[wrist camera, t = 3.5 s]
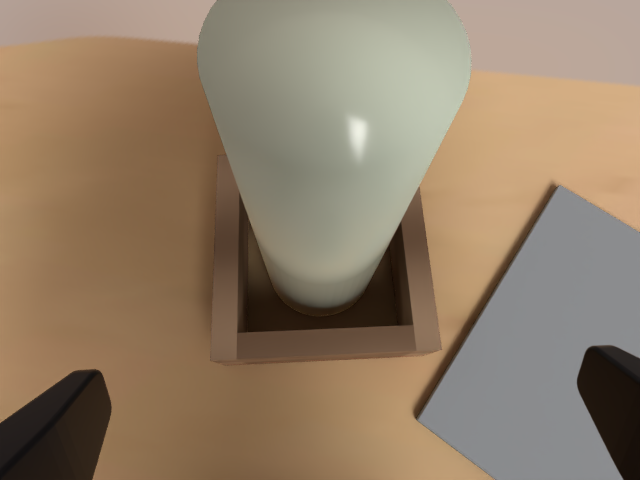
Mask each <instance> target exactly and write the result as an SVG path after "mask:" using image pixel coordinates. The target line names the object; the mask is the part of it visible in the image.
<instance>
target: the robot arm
mask: <svg viewBox="0 0 640 480" xmlns="http://www.w3.org/2000/svg"><path fill="white" fill-rule="evenodd" d="M577 388H578V391H579V394H580V396H581V398H582V400H583V402H584V404H585V406H586V408H587V410H588V412H589V414H590V416H591V418H592V420H593V422H594V424H595V426H596V428H597V430H598V432H599V434H600V436H601V438H602V440H603V442H604V444H605V446H606V448H607V450H608V452H609V454H610V456H611V458H612V460H613V462H614V464H615V466H616V468H617V470H618V472H619V473H620V475H621V477H622V478H623V480H640V358H639V357H636V356H634V355H632V354H630V353H628V352H626V351H624V350H622V349H620V348H618V347H616V346H613V345H594V346H590V347H589V348H588V349H587V350H586V351H585V354H584V357H583V360H582V364H581V367H580V370H579V373H578V376H577ZM111 408H112V407H111V400H110V397H109V394H108V391H107V387H106V384H105V381H104V377H103V375H102V373H101V372H100V371H99V370H96V369H90V370H77V371H74V372H72V373H70V374H69V375H68V376H66V377H65V378H63V379H62V380H61V381H59V382H58V383H56V384H55V385H53V386H52V387H51V388H49V389H48V390H46V391H45V392H44V393H42V394H41V395H39V396H38V397H36V398H35V399H34V400H32V401H31V402H29V403H28V404H27V405H25V406H24V407H22V408H21V409H19V410H18V411H17V412H15V413H14V414H12V415H11V416H10V417H8V418H7V419H5V420H4V421H2V422H1V423H0V480H92V479H93V475H94V472H95V469H96V465H97V462H98V458H99V455H100V451H101V448H102V444H103V441H104V437H105V434H106V430H107V427H108V423H109V420H110V416H111Z"/></svg>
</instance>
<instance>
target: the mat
mask: <svg viewBox="0 0 640 480" xmlns="http://www.w3.org/2000/svg"><path fill="white" fill-rule="evenodd" d="M594 345H613V346H616V347H618V348H620V349H622V350H624V351H626V352H628V353H630V354H632V355H634V356H636V357H639V358H640V232H638V231H636V230H635V229H633V228H631V227H630V226H628V225H626V224H625V223H623V222H621V221H620V220H618V219H616V218H615V217H613V216H611V215H610V214H608V213H606V212H605V211H603V210H601V209H600V208H598V207H596V206H594V205H593V204H591V203H589V202H588V201H586V200H584V199H583V198H581V197H579V196H578V195H576V194H574V193H573V192H571V191H569V190H568V189H566V188H564V187H563V186H561V185H559V186H558V187H557V188H556V189H555V190H554V192H553V194H552V195H551V197H550V199H549V200H548V202H547V204H546V205H545V207H544V209H543V210H542V212H541V214H540V215H539V217H538V218H537V220H536V222H535V223H534V225H533V227H532V228H531V230H530V232H529V233H528V235H527V237H526V238H525V240H524V242H523V243H522V245H521V247H520V248H519V250H518V252H517V253H516V255H515V256H514V258H513V260H512V261H511V263H510V265H509V266H508V268H507V270H506V271H505V273H504V275H503V276H502V278H501V280H500V281H499V283H498V285H497V286H496V288H495V290H494V291H493V293H492V294H491V296H490V298H489V299H488V301H487V303H486V304H485V306H484V308H483V309H482V311H481V313H480V314H479V316H478V318H477V319H476V321H475V323H474V324H473V326H472V328H471V329H470V331H469V332H468V334H467V336H466V337H465V339H464V341H463V342H462V344H461V346H460V347H459V349H458V351H457V352H456V354H455V356H454V357H453V359H452V361H451V362H450V364H449V366H448V367H447V369H446V371H445V372H444V374H443V375H442V377H441V379H440V380H439V382H438V384H437V385H436V387H435V389H434V390H433V392H432V394H431V395H430V397H429V399H428V400H427V402H426V404H425V405H424V407H423V409H422V410H421V412H420V413H419V415H418V417H417V418H416V420H417V421H418V422H420V423H421V424H422V425H424V426H425V427H426V428H428V429H429V430H430V431H431V432H433V433H434V434H435V435H437V436H438V437H439V438H441V439H442V440H443V441H445V442H446V443H447V444H449V445H450V446H451V447H453V448H454V449H455V450H457V451H458V452H459V453H461V454H462V455H463V456H465V457H466V458H467V459H469V460H470V461H471V462H473V463H474V464H475V465H477V466H478V467H479V468H480V469H482V470H483V471H484V472H486V473H487V474H488V475H490V476H491V477H492V478H494V479H495V480H623V478H622V477H621V475H620V473H619V472H618V470H617V468H616V466H615V464H614V462H613V460H612V458H611V456H610V454H609V452H608V450H607V448H606V446H605V444H604V442H603V440H602V438H601V436H600V434H599V432H598V430H597V428H596V426H595V424H594V422H593V420H592V418H591V416H590V414H589V412H588V410H587V408H586V406H585V404H584V402H583V400H582V398H581V396H580V394H579V391H578V388H577V376H578V373H579V370H580V367H581V364H582V360H583V357H584V354H585V351H586V350H587V349H588V348H589V347H590V346H594Z"/></svg>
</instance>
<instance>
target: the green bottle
mask: <svg viewBox="0 0 640 480" xmlns="http://www.w3.org/2000/svg"><path fill="white" fill-rule="evenodd" d="M471 62H472V60H471V51H470V44H469V41H468V37H467V33H466V31H465V29H464V26H463V24H462V22H461V20H460V18H459V16H458V15H457V13H456V11H455V10H454V8H453V7H452V6H451V4H450V3H449V2H448V1H447V0H217V1H216V2H215V4H214V5H213V6H212V8H211V9H210V11H209V13H208V15H207V17H206V19H205V21H204V23H203V26H202V29H201V32H200V35H199V41H198V47H197V65H198V71H199V77H200V80H201V83H202V86H203V89H204V92H205V95H206V97H207V100H208V103H209V106H210V109H211V112H212V115H213V117H214V120H215V123H216V126H217V129H218V132H219V135H220V137H221V140H222V143H223V146H224V149H225V152H226V155H227V157H228V160H229V163H230V166H231V169H232V172H233V175H234V177H235V180H236V183H237V186H238V189H239V192H240V194H241V197H242V200H243V203H244V206H245V209H246V212H247V214H248V217H249V220H250V223H251V226H252V229H253V232H254V234H255V237H256V240H257V243H258V246H259V249H260V252H261V254H262V257H263V260H264V263H265V266H266V269H267V272H268V274H269V277H270V280H271V283H272V286H273V288H274V290H275V292H276V293H277V295H278V296H279V297H280V298H281V300H282V301H283V302H284V303H286V304H287V305H288V306H289V307H291V308H292V309H294V310H296V311H298V312H300V313H303V314H306V315H311V316H330V315H334V314H337V313H340V312H342V311H344V310H346V309H348V308H349V307H351V306H352V305H353V304H355V303H356V302H357V301H358V300H359V298H360V297H361V296H362V295H363V293H364V291H365V290H366V288H367V286H368V284H369V282H370V280H371V278H372V276H373V274H374V272H375V270H376V268H377V266H378V265H379V263H380V261H381V259H382V257H383V255H384V253H385V251H386V249H387V247H388V245H389V243H390V241H391V239H392V237H393V235H394V233H395V232H396V230H397V228H398V226H399V224H400V222H401V220H402V218H403V216H404V214H405V212H406V210H407V208H408V206H409V204H410V202H411V200H412V199H413V197H414V195H415V193H416V191H417V189H418V187H419V185H420V183H421V181H422V179H423V177H424V175H425V173H426V171H427V169H428V167H429V166H430V164H431V162H432V160H433V158H434V156H435V154H436V152H437V150H438V148H439V146H440V144H441V142H442V140H443V138H444V136H445V134H446V133H447V131H448V129H449V127H450V125H451V123H452V121H453V119H454V117H455V115H456V113H457V111H458V109H459V107H460V105H461V103H462V101H463V99H464V96H465V94H466V91H467V89H468V85H469V80H470V76H471Z"/></svg>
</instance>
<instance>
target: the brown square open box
mask: <svg viewBox="0 0 640 480" xmlns="http://www.w3.org/2000/svg"><path fill="white" fill-rule="evenodd" d="M389 248H390V257H391V267H392V276H393V285H394V295H395V304H396V313H397V323H398V326H380V327H358V328H336V329H313V330H291V331H269V332H247V316H248V214H247V212H246V209H245V206H244V203H243V200H242V197H241V194H240V192H239V189H238V186H237V183H236V180H235V177H234V175H233V172H232V169H231V166H230V163H229V160H228V157H227V155H218V162H217V190H216V217H215V245H214V272H213V300H212V328H211V355H210V361H213V362H216V363H219V364H222V365H242V364H263V363H284V362H305V361H326V360H347V359H368V358H389V357H410V356H424V355H427V354H430V353H433V352H436V351H439V350H442V347H441V340H440V332H439V325H438V318H437V311H436V303H435V296H434V289H433V282H432V275H431V267H430V260H429V253H428V246H427V239H426V231H425V224H424V217H423V210H422V202H421V195H420V188H419V187H418V189H417V191H416V193H415V195H414V197H413V199H412V200H411V202H410V204H409V206H408V208H407V210H406V212H405V214H404V216H403V218H402V220H401V222H400V224H399V226H398V228H397V230H396V232H395V233H394V235H393V237H392V239H391V241H390V243H389Z"/></svg>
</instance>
